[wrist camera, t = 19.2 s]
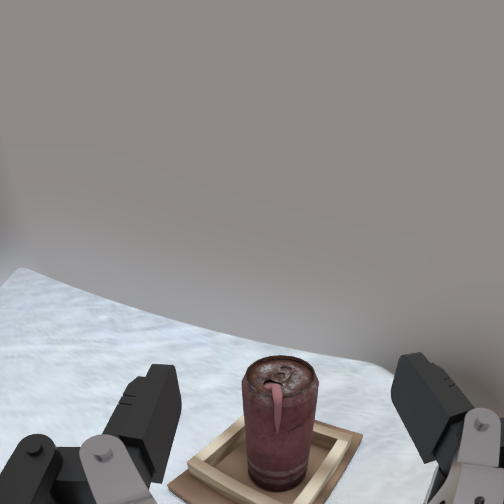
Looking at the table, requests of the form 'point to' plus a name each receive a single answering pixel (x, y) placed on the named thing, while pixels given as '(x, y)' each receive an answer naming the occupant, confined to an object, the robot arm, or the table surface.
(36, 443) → the robot arm
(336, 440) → the tray
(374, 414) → the table surface
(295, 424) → the can
